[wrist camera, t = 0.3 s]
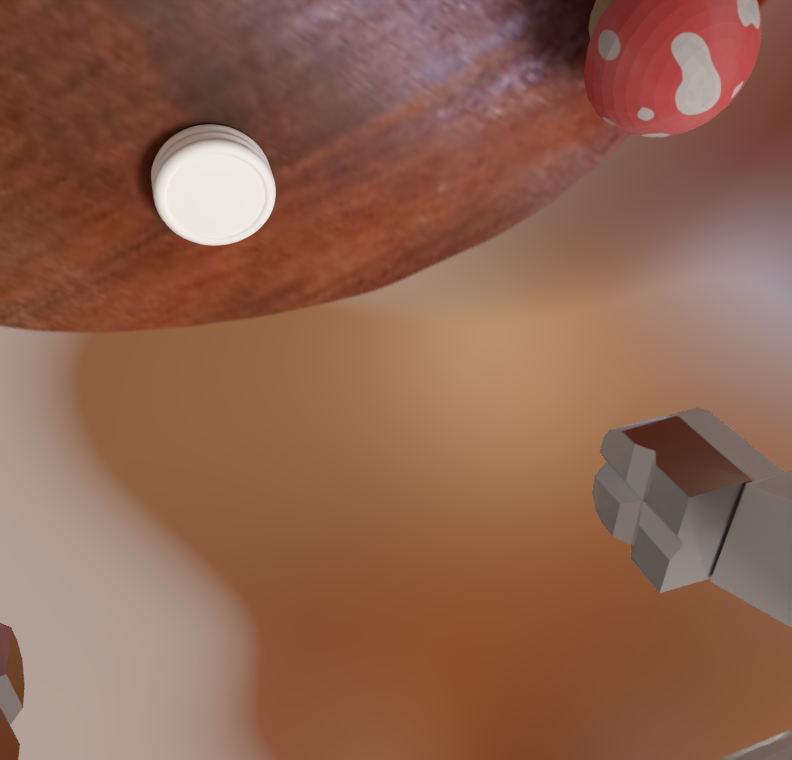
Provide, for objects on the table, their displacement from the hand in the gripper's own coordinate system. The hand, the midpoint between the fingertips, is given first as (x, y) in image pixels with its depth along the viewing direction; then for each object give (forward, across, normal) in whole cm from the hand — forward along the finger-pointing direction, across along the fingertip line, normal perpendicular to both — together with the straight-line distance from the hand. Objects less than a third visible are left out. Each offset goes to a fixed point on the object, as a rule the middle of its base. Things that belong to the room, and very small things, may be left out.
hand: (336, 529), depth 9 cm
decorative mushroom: (+51, -38, 0) cm, 64 cm away
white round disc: (+56, -4, +12) cm, 57 cm away
